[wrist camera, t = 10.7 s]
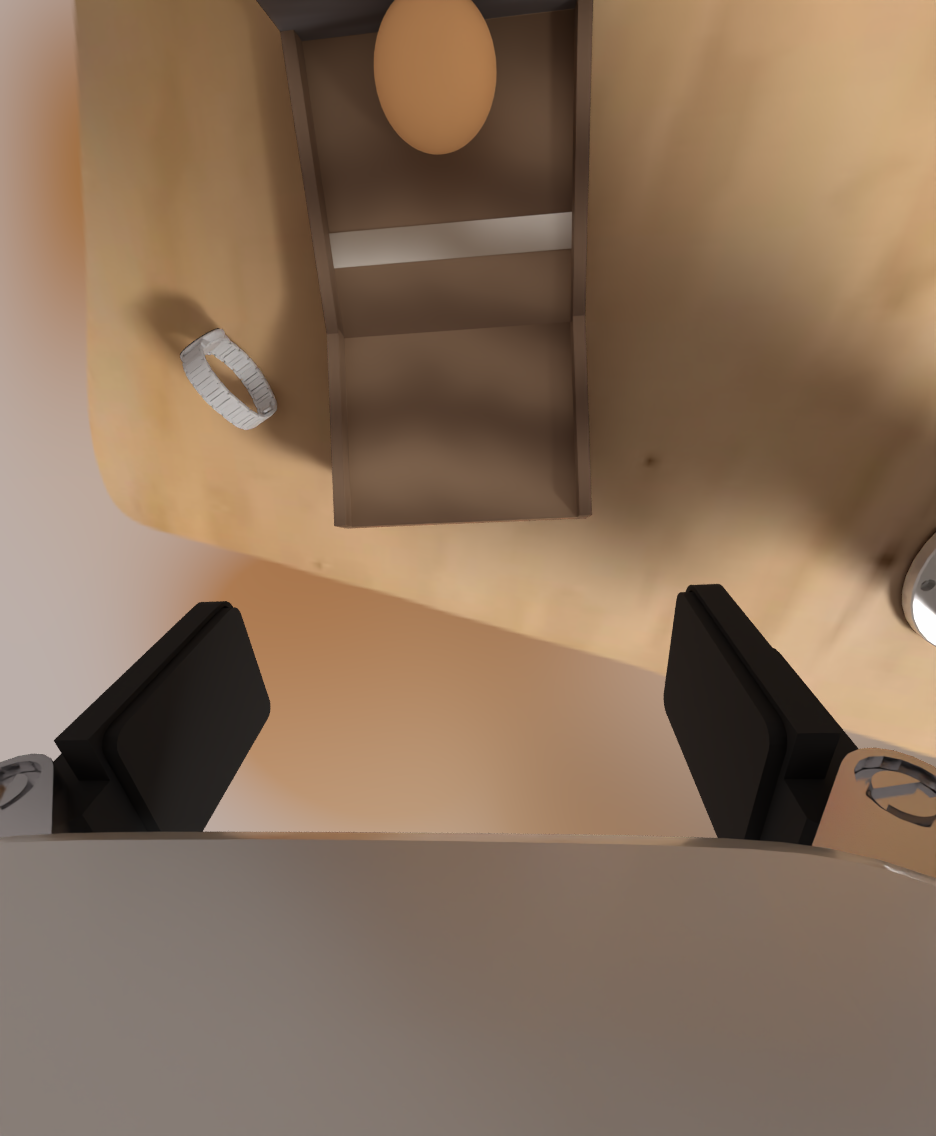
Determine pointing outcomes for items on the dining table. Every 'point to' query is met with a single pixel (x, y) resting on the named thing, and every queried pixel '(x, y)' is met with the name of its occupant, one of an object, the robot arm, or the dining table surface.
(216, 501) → the dining table surface
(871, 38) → the dining table surface
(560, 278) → the ramp
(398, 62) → the ball
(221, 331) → the wristwatch
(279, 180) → the dining table surface
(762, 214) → the dining table surface
